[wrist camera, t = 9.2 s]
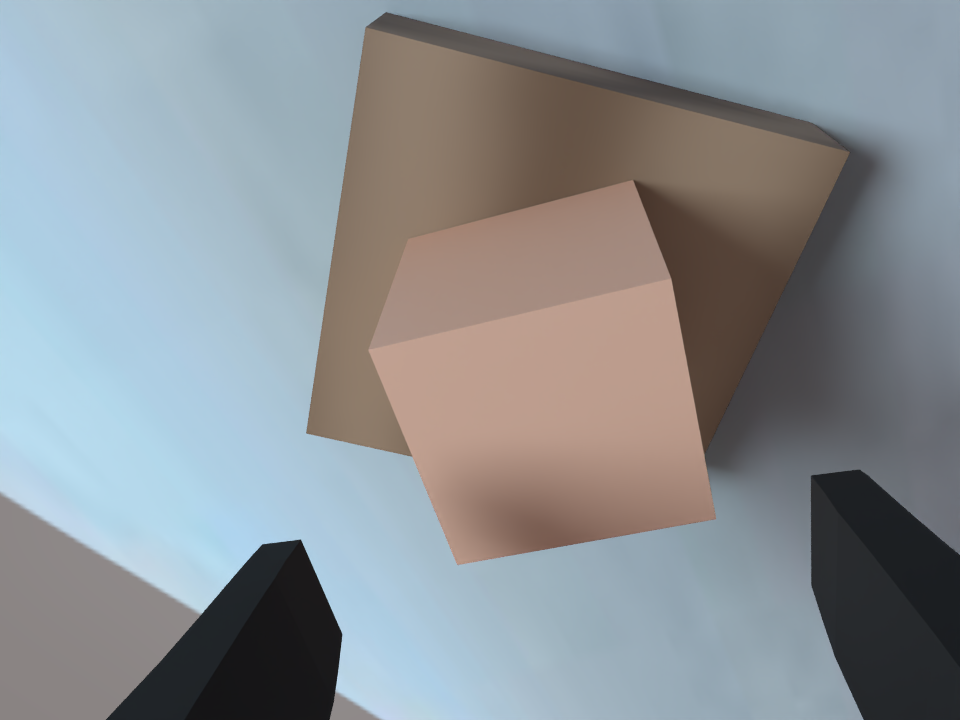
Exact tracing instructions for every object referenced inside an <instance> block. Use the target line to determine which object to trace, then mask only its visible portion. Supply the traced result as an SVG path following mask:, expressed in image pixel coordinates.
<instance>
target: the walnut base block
mask: <svg viewBox="0 0 960 720" xmlns="http://www.w3.org/2000/svg"><path fill="white" fill-rule="evenodd" d="M849 154H850V152H849V151H848V150H847V149H845V148H844V147H843V146H841V145H840V144H839V143H837V142H836V141H835V140H834V139H832V138H831V137H830V136H828V135H827V134H826V133H824V132H823V131H822V130H820V129H819V128H818V127H817V126H815V125H814V124H813V123H810V122H806V121H803V120H799V119H795V118H791V117H787V116H783V115H779V114H776V113H772V112H768V111H764V110H760V109H756V108H752V107H749V106H745V105H741V104H737V103H733V102H729V101H726V100H722V99H718V98H714V97H710V96H706V95H702V94H699V93H695V92H691V91H687V90H683V89H679V88H675V87H672V86H668V85H664V84H660V83H656V82H652V81H648V80H645V79H641V78H637V77H633V76H629V75H625V74H621V73H618V72H614V71H610V70H606V69H602V68H598V67H595V66H591V65H587V64H583V63H579V62H575V61H571V60H568V59H564V58H560V57H556V56H552V55H548V54H544V53H541V52H537V51H533V50H529V49H525V48H521V47H517V46H514V45H510V44H506V43H502V42H498V41H494V40H491V39H487V38H483V37H479V36H475V35H471V34H467V33H464V32H460V31H456V30H452V29H448V28H444V27H440V26H437V25H433V24H429V23H425V22H421V21H417V20H413V19H410V18H406V17H402V16H398V15H394V14H390V13H384V14H383V15H382V16H380V17H379V18H378V19H376V20H375V21H374V22H372V23H371V24H370V25H368V26H367V27H366V29H365V35H364V42H363V49H362V56H361V63H360V70H359V76H358V83H357V90H356V97H355V104H354V111H353V117H352V124H351V131H350V138H349V145H348V152H347V158H346V165H345V172H344V179H343V186H342V193H341V199H340V206H339V213H338V220H337V227H336V234H335V240H334V247H333V254H332V261H331V268H330V274H329V281H328V288H327V295H326V302H325V309H324V315H323V322H322V329H321V336H320V343H319V350H318V356H317V363H316V370H315V377H314V384H313V391H312V397H311V404H310V411H309V418H308V425H307V432H306V433H307V434H311V435H316V436H321V437H325V438H330V439H334V440H339V441H343V442H348V443H352V444H357V445H362V446H366V447H371V448H375V449H380V450H384V451H389V452H393V453H398V454H403V455H407V456H412V454H411V452H410V450H409V447H408V445H407V442H406V440H405V437H404V435H403V433H402V430H401V428H400V425H399V423H398V421H397V418H396V416H395V413H394V411H393V409H392V406H391V404H390V401H389V399H388V396H387V394H386V392H385V389H384V387H383V384H382V382H381V380H380V377H379V375H378V372H377V370H376V368H375V365H374V363H373V360H372V358H371V355H370V353H369V351H368V349H369V347H370V344H371V341H372V338H373V336H374V333H375V330H376V327H377V324H378V322H379V319H380V316H381V313H382V310H383V308H384V305H385V302H386V299H387V297H388V294H389V291H390V288H391V285H392V283H393V280H394V277H395V274H396V272H397V269H398V266H399V263H400V260H401V258H402V255H403V252H404V249H405V246H406V244H407V241H408V239H410V238H413V237H417V236H421V235H425V234H429V233H433V232H436V231H440V230H444V229H448V228H452V227H455V226H459V225H463V224H467V223H471V222H474V221H478V220H482V219H486V218H490V217H494V216H497V215H501V214H505V213H509V212H513V211H516V210H520V209H524V208H528V207H532V206H535V205H539V204H543V203H547V202H551V201H555V200H558V199H562V198H566V197H570V196H574V195H577V194H581V193H585V192H589V191H593V190H596V189H600V188H604V187H608V186H612V185H616V184H619V183H623V182H627V181H631V180H633V181H634V184H635V186H636V189H637V191H638V194H639V197H640V199H641V202H642V204H643V207H644V209H645V212H646V215H647V217H648V220H649V222H650V225H651V228H652V230H653V233H654V235H655V238H656V240H657V243H658V246H659V248H660V251H661V253H662V256H663V258H664V261H665V264H666V266H667V269H668V271H669V274H670V277H671V280H672V285H673V291H674V296H675V301H676V307H677V312H678V317H679V323H680V328H681V333H682V339H683V344H684V350H685V355H686V360H687V366H688V371H689V376H690V382H691V387H692V392H693V398H694V403H695V408H696V414H697V419H698V425H699V430H700V435H701V441H702V446H703V451H704V454H705V452H706V450H707V448H708V446H709V444H710V442H711V440H712V438H713V436H714V434H715V432H716V430H717V427H718V425H719V423H720V421H721V419H722V417H723V415H724V413H725V411H726V409H727V407H728V405H729V403H730V401H731V398H732V396H733V394H734V392H735V390H736V388H737V386H738V384H739V382H740V380H741V378H742V376H743V374H744V371H745V369H746V367H747V365H748V363H749V361H750V359H751V357H752V355H753V353H754V351H755V349H756V347H757V344H758V342H759V340H760V338H761V336H762V334H763V332H764V330H765V328H766V326H767V324H768V322H769V320H770V318H771V315H772V313H773V311H774V309H775V307H776V305H777V303H778V301H779V299H780V297H781V295H782V293H783V291H784V288H785V286H786V284H787V282H788V280H789V278H790V276H791V274H792V272H793V270H794V268H795V266H796V264H797V261H798V259H799V257H800V255H801V253H802V251H803V249H804V247H805V245H806V243H807V241H808V239H809V237H810V235H811V232H812V230H813V228H814V226H815V224H816V222H817V220H818V218H819V216H820V214H821V212H822V210H823V208H824V205H825V203H826V201H827V199H828V197H829V195H830V193H831V191H832V189H833V187H834V185H835V183H836V181H837V178H838V176H839V174H840V172H841V170H842V168H843V166H844V164H845V162H846V160H847V158H848V156H849Z"/></svg>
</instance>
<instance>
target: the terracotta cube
mask: <svg viewBox="0 0 960 720" xmlns="http://www.w3.org/2000/svg"><path fill="white" fill-rule="evenodd" d="M368 351H369V353H370V355H371V358H372V360H373V363H374V365H375V368H376V370H377V372H378V375H379V377H380V380H381V382H382V384H383V387H384V389H385V392H386V394H387V396H388V399H389V401H390V404H391V406H392V409H393V411H394V413H395V416H396V418H397V421H398V423H399V425H400V428H401V430H402V433H403V435H404V437H405V440H406V442H407V445H408V447H409V450H410V452H411V454H412V457H413V459H414V462H415V464H416V466H417V469H418V471H419V474H420V476H421V479H422V481H423V483H424V486H425V488H426V491H427V493H428V495H429V498H430V500H431V503H432V505H433V507H434V510H435V512H436V515H437V517H438V520H439V522H440V524H441V527H442V529H443V532H444V534H445V536H446V539H447V541H448V544H449V546H450V549H451V551H452V553H453V556H454V558H455V561H456V563H457V565H460V564H465V563H471V562H477V561H482V560H488V559H494V558H499V557H505V556H511V555H516V554H522V553H528V552H533V551H539V550H544V549H550V548H556V547H561V546H567V545H573V544H578V543H584V542H590V541H595V540H601V539H607V538H612V537H618V536H623V535H629V534H635V533H640V532H646V531H652V530H657V529H663V528H669V527H674V526H680V525H686V524H691V523H697V522H702V521H708V520H714V519H716V516H715V510H714V505H713V500H712V494H711V489H710V483H709V478H708V473H707V467H706V462H705V457H704V451H703V446H702V441H701V435H700V430H699V425H698V419H697V414H696V408H695V403H694V398H693V392H692V387H691V382H690V376H689V371H688V366H687V360H686V355H685V350H684V344H683V339H682V333H681V328H680V323H679V317H678V312H677V307H676V301H675V296H674V291H673V285H672V280H671V277H670V274H669V271H668V269H667V266H666V264H665V261H664V258H663V256H662V253H661V251H660V248H659V246H658V243H657V240H656V238H655V235H654V233H653V230H652V228H651V225H650V222H649V220H648V217H647V215H646V212H645V209H644V207H643V204H642V202H641V199H640V197H639V194H638V191H637V189H636V186H635V184H634V181H633V180H631V181H627V182H623V183H619V184H616V185H612V186H608V187H604V188H600V189H596V190H593V191H589V192H585V193H581V194H577V195H574V196H570V197H566V198H562V199H558V200H555V201H551V202H547V203H543V204H539V205H535V206H532V207H528V208H524V209H520V210H516V211H513V212H509V213H505V214H501V215H497V216H494V217H490V218H486V219H482V220H478V221H474V222H471V223H467V224H463V225H459V226H455V227H452V228H448V229H444V230H440V231H436V232H433V233H429V234H425V235H421V236H417V237H413V238H410V239H408V241H407V244H406V246H405V249H404V252H403V255H402V258H401V260H400V263H399V266H398V269H397V272H396V274H395V277H394V280H393V283H392V285H391V288H390V291H389V294H388V297H387V299H386V302H385V305H384V308H383V310H382V313H381V316H380V319H379V322H378V324H377V327H376V330H375V333H374V336H373V338H372V341H371V344H370V347H369V349H368Z"/></svg>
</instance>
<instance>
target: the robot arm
mask: <svg viewBox="0 0 960 720" xmlns="http://www.w3.org/2000/svg"><path fill="white" fill-rule="evenodd" d="M811 585H812V588H813V592H814V595H815V598H816V601H817V604H818V607H819V610H820V613H821V616H822V620H823V623H824V626H825V629H826V632H827V635H828V637H829V640H830V643H831V646H832V649H833V652H834V655H835V658H836V660H837V662H838V664H839V667H840V669H841V671H842V673H843V676H844V678H845V680H846V682H847V684H848V686H849V689H850V691H851V693H852V695H853V697H854V700H855V702H856V704H857V706H858V708H859V710H860V713H861V715H862V717H863V719H864V720H960V555H959V554H958V553H957V552H955V551H954V550H953V549H952V548H951V547H949V546H948V545H947V544H946V543H945V542H943V541H942V540H941V539H940V538H939V537H937V536H936V535H935V534H934V533H933V532H932V531H930V530H929V529H928V528H927V527H926V526H925V525H923V524H922V523H921V522H920V521H919V520H918V519H916V518H915V517H914V516H913V515H912V514H911V513H910V512H908V511H907V510H906V509H905V508H904V507H903V506H902V505H900V504H899V503H898V502H897V501H896V500H895V499H894V498H892V497H891V496H890V495H889V494H888V493H887V492H886V491H885V490H883V489H882V488H881V487H880V486H879V485H878V484H877V483H876V482H874V481H873V480H872V479H871V478H870V477H869V476H868V475H866V474H865V473H864V472H862V471H861V470H852V471H844V472H836V473H828V474H820V475H812V476H811ZM341 642H342V632H341V630H340V628H339V626H338V623H337V621H336V619H335V616H334V614H333V612H332V610H331V607H330V605H329V603H328V600H327V598H326V596H325V594H324V591H323V589H322V587H321V584H320V582H319V580H318V578H317V575H316V573H315V571H314V568H313V566H312V564H311V562H310V559H309V557H308V555H307V552H306V550H305V548H304V546H303V543H302V541H301V540H294V541H286V542H278V543H270V544H262V546H261V547H260V548H259V549H258V550H257V551H256V552H255V553H254V554H253V555H252V556H251V558H250V559H249V560H248V561H247V562H246V563H245V564H244V565H243V567H242V568H241V569H240V570H239V571H238V572H237V574H236V575H235V576H234V577H233V578H232V579H231V581H230V582H229V583H228V584H227V585H226V586H225V588H224V589H223V590H222V591H221V592H220V594H219V595H218V596H217V597H216V598H215V599H214V601H213V602H212V603H211V604H210V605H209V606H208V608H207V609H206V610H205V611H204V612H203V613H202V615H201V616H200V617H199V618H198V619H197V620H196V621H195V623H194V624H193V625H192V626H191V627H190V628H189V630H188V631H187V632H186V633H185V634H184V635H183V636H182V638H181V639H180V640H179V641H178V642H177V643H176V644H175V646H174V647H173V648H172V649H171V650H170V651H169V652H168V654H167V655H166V656H165V657H164V658H163V659H162V661H161V662H160V663H159V664H158V665H157V666H156V667H155V668H154V669H153V670H152V671H151V672H150V673H149V675H147V677H146V678H145V679H144V680H143V681H142V682H141V683H140V684H139V685H138V686H137V687H136V688H135V689H134V690H133V691H132V693H131V694H130V695H129V696H128V697H127V698H126V699H125V700H124V701H123V702H122V703H121V704H120V705H119V706H118V707H117V708H116V710H115V711H114V712H113V713H112V714H111V715H110V716H109V717H108V718H107V719H106V720H329V719H330V715H331V711H332V707H333V703H334V696H335V689H336V682H337V675H338V668H339V659H340V650H341Z"/></svg>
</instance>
